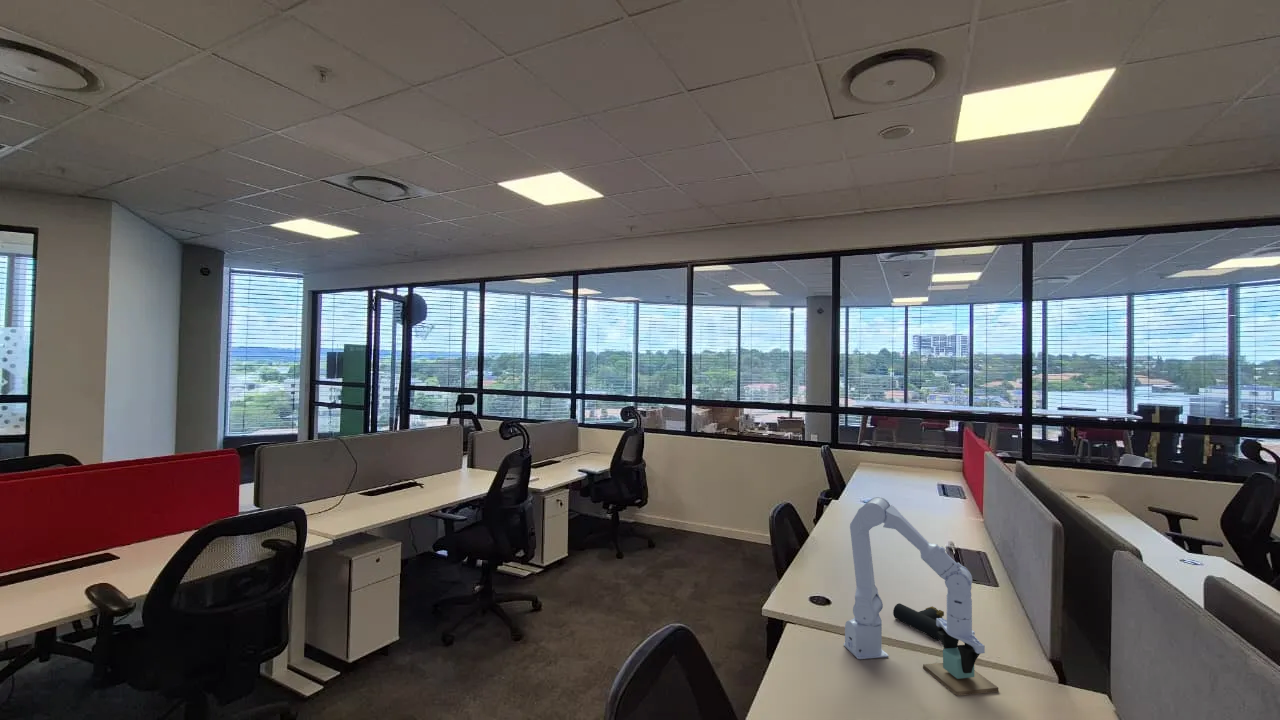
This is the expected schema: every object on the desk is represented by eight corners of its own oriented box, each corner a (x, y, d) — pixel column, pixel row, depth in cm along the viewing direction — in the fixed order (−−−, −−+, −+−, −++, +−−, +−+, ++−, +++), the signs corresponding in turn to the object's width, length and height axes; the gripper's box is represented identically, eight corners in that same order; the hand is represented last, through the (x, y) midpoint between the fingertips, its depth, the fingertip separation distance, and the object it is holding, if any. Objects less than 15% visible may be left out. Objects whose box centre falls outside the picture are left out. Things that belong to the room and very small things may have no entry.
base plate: (956, 695, 129) (956, 679, 129) (923, 668, 141) (922, 653, 141) (998, 691, 131) (998, 675, 131) (962, 664, 142) (962, 650, 142)
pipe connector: (916, 597, 173) (960, 617, 160) (917, 613, 173) (961, 634, 159) (893, 604, 168) (936, 625, 155) (893, 620, 168) (936, 643, 155)
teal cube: (957, 678, 133) (957, 659, 133) (943, 667, 138) (942, 648, 138) (974, 677, 134) (974, 657, 134) (959, 666, 138) (959, 647, 139)
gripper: (995, 627, 129) (995, 681, 129) (952, 601, 144) (952, 650, 143) (970, 629, 128) (970, 683, 128) (929, 602, 143) (929, 652, 142)
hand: (959, 666), depth 136 cm, fingers closed on teal cube, 5 cm apart
